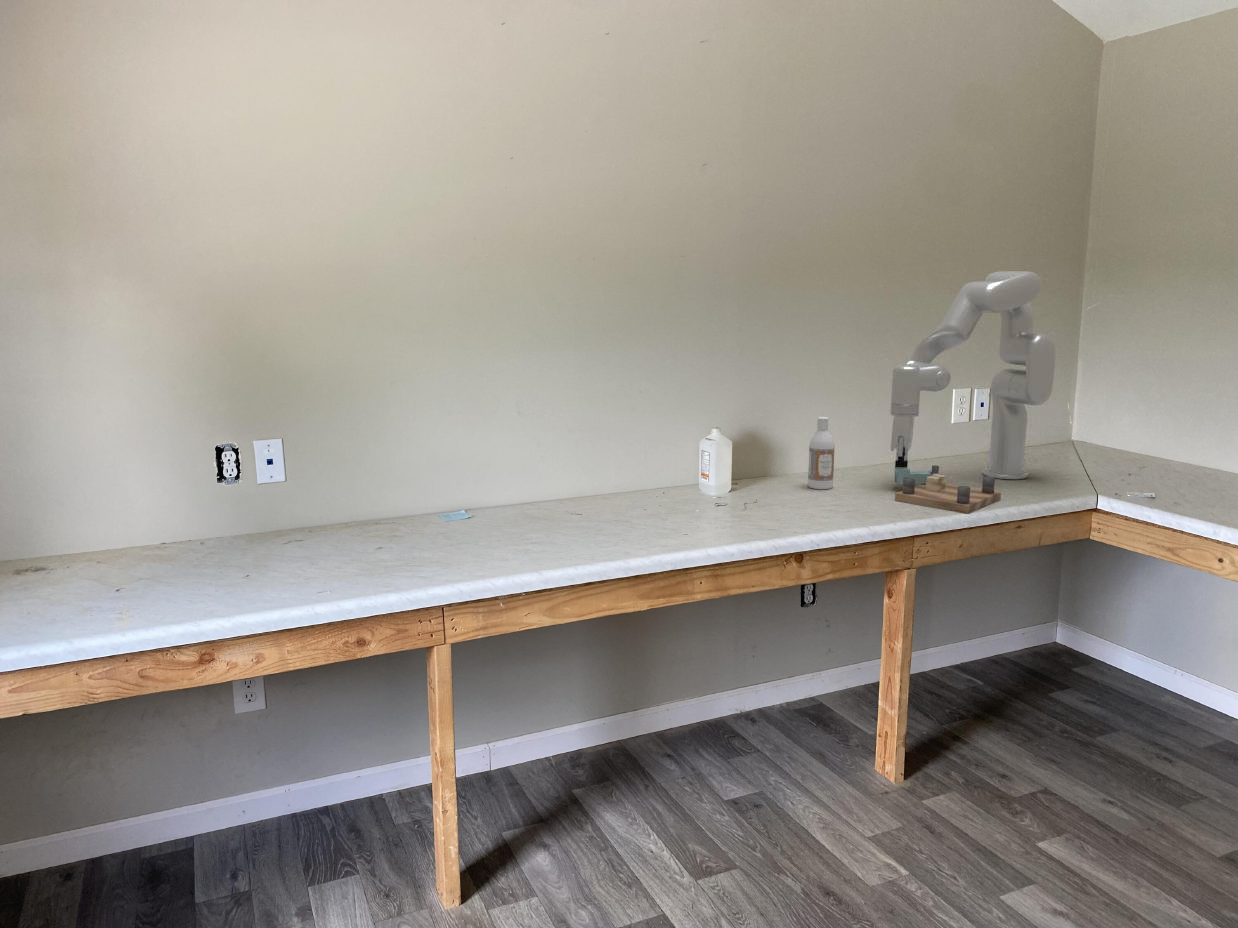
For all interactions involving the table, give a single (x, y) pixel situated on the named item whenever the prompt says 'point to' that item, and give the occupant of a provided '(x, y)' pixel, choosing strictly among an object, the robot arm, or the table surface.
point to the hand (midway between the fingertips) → (900, 474)
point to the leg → (911, 475)
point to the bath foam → (821, 457)
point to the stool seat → (948, 493)
